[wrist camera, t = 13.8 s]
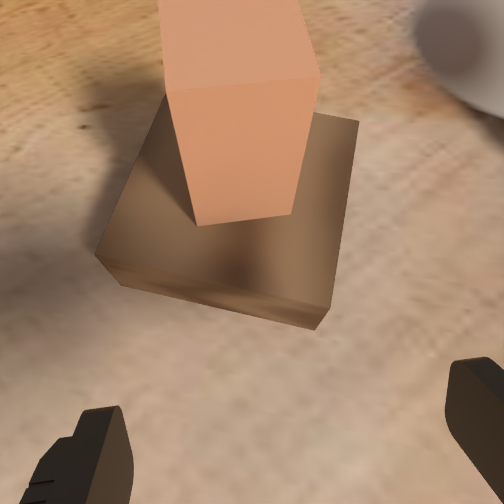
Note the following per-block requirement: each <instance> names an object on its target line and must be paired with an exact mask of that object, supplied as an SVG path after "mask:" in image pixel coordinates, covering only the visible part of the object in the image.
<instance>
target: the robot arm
mask: <svg viewBox="0 0 504 504" xmlns="http://www.w3.org/2000/svg"><path fill="white" fill-rule="evenodd" d="M445 418H446V422H447V425H448V428H449V430H450V432H451V434H452V436H453V437H454V439H455V440H456V441H457V443H458V444H459V445H460V447H461V448H462V449H463V451H464V452H465V453H466V455H467V456H468V457H469V459H470V460H471V461H472V463H473V464H474V466H475V467H476V468H477V470H478V471H479V472H480V474H481V475H482V476H483V478H484V479H485V480H486V482H487V483H488V484H489V486H490V487H491V488H492V490H493V491H494V492H495V494H496V495H497V496H498V498H499V499H500V500H501V502H502V503H503V504H504V370H503V369H502V368H501V367H500V366H499V365H497V364H496V363H495V362H494V361H493V360H491V359H490V358H488V357H479V358H471V359H464V360H457V361H454V362H453V363H452V364H451V367H450V373H449V381H448V388H447V396H446V404H445ZM133 476H134V463H133V455H132V450H131V446H130V442H129V438H128V434H127V430H126V426H125V422H124V418H123V413H122V410H121V408H120V407H119V406H111V407H103V408H96V409H89V410H84V411H83V413H82V414H81V416H80V419H79V421H78V424H77V426H76V429H75V431H74V434H73V436H71V437H64V438H59V439H58V440H57V441H56V442H55V443H54V444H53V446H52V447H51V448H50V449H49V450H48V451H47V452H46V453H45V454H44V456H43V457H42V458H41V459H40V460H39V463H38V465H37V467H36V469H35V471H34V473H33V475H32V477H31V480H30V482H29V487H28V488H26V490H25V492H24V495H23V497H22V499H21V501H20V503H19V504H129V500H130V495H131V490H132V485H133Z"/></svg>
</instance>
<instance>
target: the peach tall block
mask: <svg viewBox="0 0 504 504" xmlns="http://www.w3.org/2000/svg"><path fill="white" fill-rule="evenodd" d="M158 9H159V21H160V32H161V43H162V54H163V65H164V76H165V87H166V94H167V98H168V103H169V107H170V111H171V116H172V120H173V124H174V129H175V133H176V137H177V141H178V146H179V150H180V154H181V159H182V163H183V167H184V172H185V176H186V180H187V184H188V189H189V193H190V197H191V202H192V206H193V210H194V215H195V219H196V223H197V226H204V225H212V224H220V223H228V222H236V221H243V220H251V219H259V218H267V217H274V216H282V215H290V214H291V212H292V207H293V202H294V198H295V193H296V189H297V184H298V180H299V175H300V171H301V166H302V162H303V157H304V153H305V148H306V144H307V139H308V135H309V130H310V126H311V121H312V117H313V112H314V108H315V103H316V99H317V94H318V90H319V85H320V81H321V73H320V70H319V66H318V63H317V60H316V57H315V54H314V51H313V47H312V44H311V41H310V38H309V35H308V31H307V28H306V25H305V22H304V19H303V15H302V12H301V9H300V6H299V3H298V0H158Z"/></svg>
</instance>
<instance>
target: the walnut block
mask: <svg viewBox="0 0 504 504" xmlns="http://www.w3.org/2000/svg"><path fill="white" fill-rule="evenodd" d="M358 126H359V121H356V120H351V119H346V118H340V117H335V116H330V115H325V114H319V113H314V112H313V117H312V121H311V126H310V130H309V135H308V139H307V144H306V148H305V153H304V157H303V162H302V166H301V171H300V175H299V180H298V184H297V189H296V193H295V198H294V202H293V207H292V212H291V214H290V215H282V216H274V217H267V218H259V219H251V220H243V221H236V222H228V223H220V224H212V225H204V226H197V223H196V219H195V215H194V210H193V206H192V202H191V197H190V193H189V189H188V184H187V180H186V176H185V172H184V167H183V163H182V159H181V154H180V150H179V146H178V141H177V137H176V133H175V129H174V124H173V120H172V116H171V111H170V107H169V103H168V98H167V94H165V96H164V99H163V101H162V103H161V105H160V108H159V110H158V112H157V114H156V117H155V119H154V121H153V124H152V126H151V128H150V130H149V133H148V135H147V137H146V139H145V142H144V144H143V146H142V148H141V151H140V153H139V155H138V157H137V160H136V162H135V164H134V167H133V169H132V171H131V173H130V176H129V178H128V180H127V182H126V185H125V187H124V189H123V191H122V194H121V196H120V198H119V200H118V203H117V205H116V207H115V210H114V212H113V214H112V216H111V219H110V221H109V223H108V225H107V228H106V230H105V232H104V234H103V237H102V239H101V241H100V243H99V246H98V248H97V250H96V253H95V256H96V257H97V258H98V259H99V260H100V261H101V263H102V264H103V265H104V266H105V267H106V268H107V270H108V271H109V272H110V273H111V274H112V275H113V277H114V278H115V279H116V280H117V281H118V282H119V284H120V285H122V286H126V287H130V288H135V289H139V290H143V291H148V292H152V293H156V294H160V295H165V296H169V297H173V298H178V299H182V300H186V301H190V302H195V303H199V304H203V305H208V306H212V307H216V308H220V309H225V310H229V311H233V312H238V313H242V314H246V315H250V316H255V317H259V318H263V319H267V320H272V321H276V322H280V323H285V324H289V325H293V326H297V327H302V328H306V329H310V330H315V329H316V328H317V326H318V325H319V324H320V322H321V321H322V319H323V318H324V316H325V315H326V314H327V312H328V311H329V309H330V307H331V300H332V294H333V287H334V281H335V275H336V268H337V262H338V255H339V249H340V242H341V236H342V229H343V223H344V217H345V210H346V204H347V197H348V191H349V184H350V178H351V171H352V165H353V159H354V152H355V146H356V139H357V133H358Z"/></svg>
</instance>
